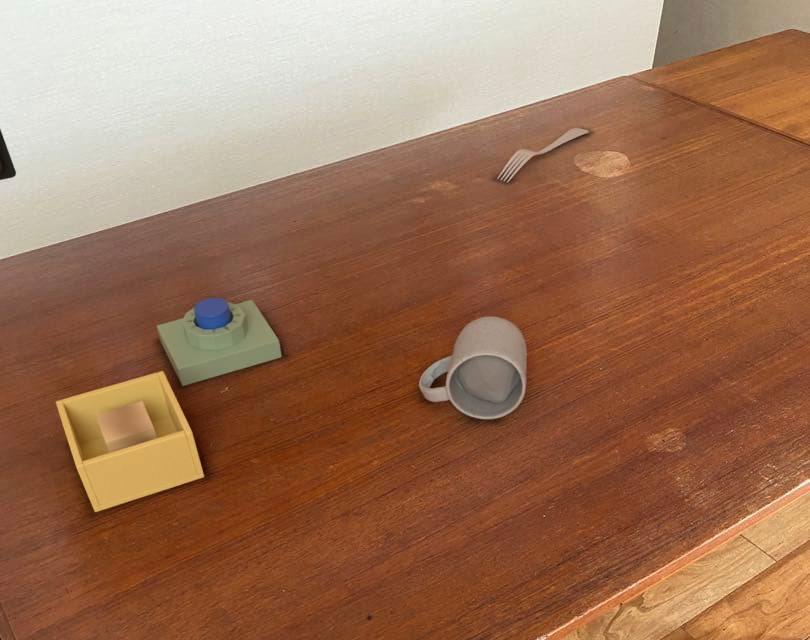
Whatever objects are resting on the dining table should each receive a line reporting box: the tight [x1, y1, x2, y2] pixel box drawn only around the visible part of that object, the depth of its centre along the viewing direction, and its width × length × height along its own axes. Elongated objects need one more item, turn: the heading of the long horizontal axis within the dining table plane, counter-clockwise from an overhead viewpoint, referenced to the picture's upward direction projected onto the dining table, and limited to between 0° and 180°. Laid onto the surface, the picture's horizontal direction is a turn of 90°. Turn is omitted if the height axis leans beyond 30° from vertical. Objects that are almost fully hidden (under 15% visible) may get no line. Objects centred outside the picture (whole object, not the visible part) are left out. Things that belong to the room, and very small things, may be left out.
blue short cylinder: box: [193, 297, 231, 330], centre depth 91 cm, size 4×4×2 cm
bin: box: [55, 370, 205, 513], centre depth 80 cm, size 10×10×6 cm
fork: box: [496, 127, 590, 183], centre depth 125 cm, size 3×21×3 cm, turn 140°
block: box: [96, 401, 157, 453], centre depth 80 cm, size 4×4×4 cm
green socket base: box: [156, 299, 282, 387], centre depth 93 cm, size 11×9×4 cm
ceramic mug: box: [418, 315, 528, 420], centre depth 85 cm, size 11×8×8 cm
